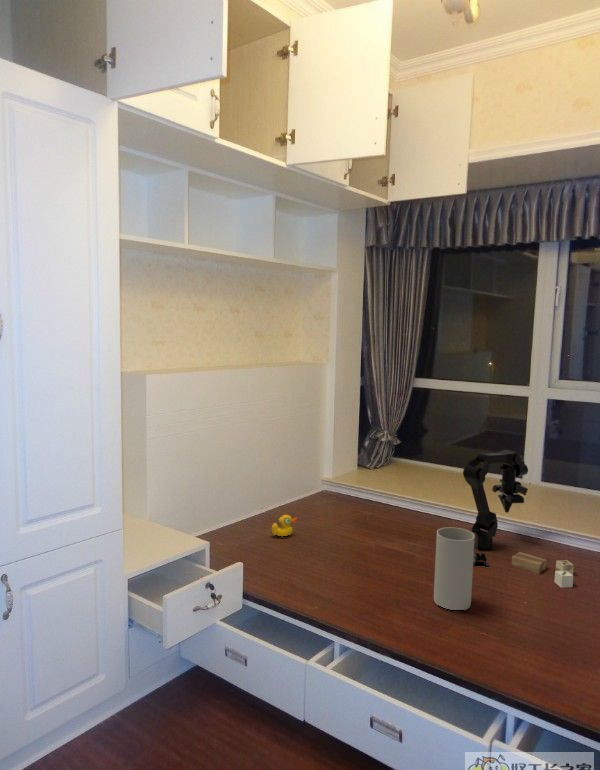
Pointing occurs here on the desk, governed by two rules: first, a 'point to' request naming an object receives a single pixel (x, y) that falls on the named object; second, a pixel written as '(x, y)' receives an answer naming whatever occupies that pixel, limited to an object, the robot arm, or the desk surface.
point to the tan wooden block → (529, 562)
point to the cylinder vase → (454, 568)
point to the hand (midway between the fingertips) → (506, 512)
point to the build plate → (480, 558)
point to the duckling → (283, 526)
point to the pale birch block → (564, 566)
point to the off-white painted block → (563, 579)
